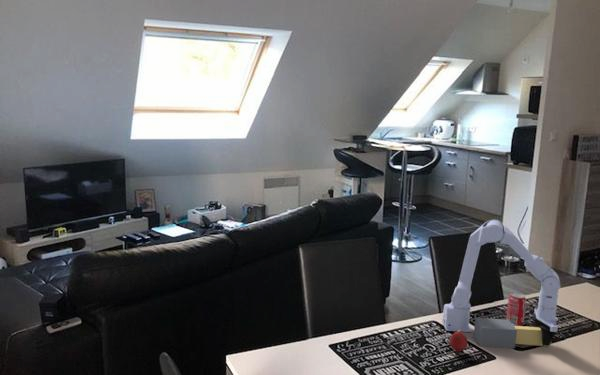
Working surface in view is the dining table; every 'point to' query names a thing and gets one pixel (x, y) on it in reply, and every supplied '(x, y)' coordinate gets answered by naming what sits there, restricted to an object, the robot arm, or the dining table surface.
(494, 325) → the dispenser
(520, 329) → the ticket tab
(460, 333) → the onion
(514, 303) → the beverage can
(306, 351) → the dining table surface
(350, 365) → the dining table surface
